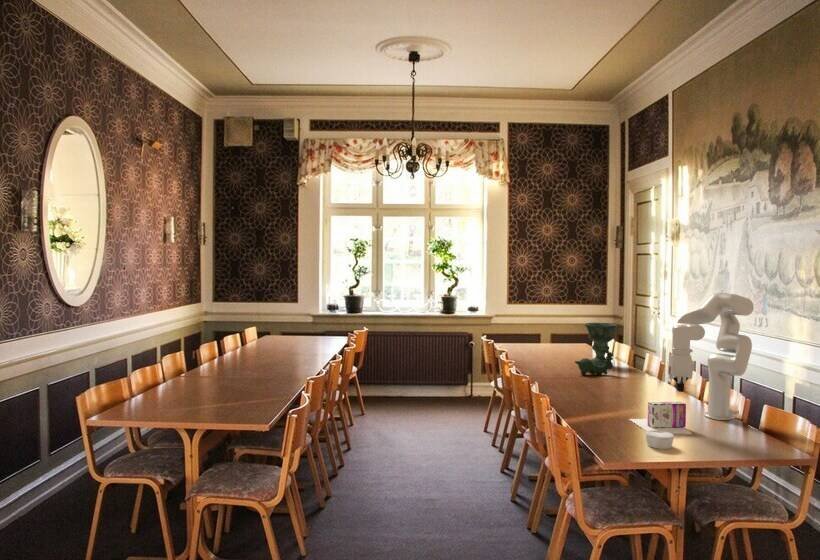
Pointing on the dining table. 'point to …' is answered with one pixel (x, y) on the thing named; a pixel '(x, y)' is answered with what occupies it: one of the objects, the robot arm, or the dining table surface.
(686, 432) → the mat
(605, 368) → the toy figurine
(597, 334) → the goblet
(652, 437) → the ramekin
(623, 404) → the dining table surface
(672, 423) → the candy bar box
